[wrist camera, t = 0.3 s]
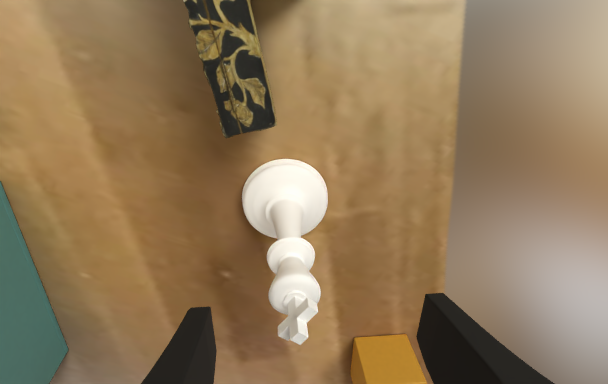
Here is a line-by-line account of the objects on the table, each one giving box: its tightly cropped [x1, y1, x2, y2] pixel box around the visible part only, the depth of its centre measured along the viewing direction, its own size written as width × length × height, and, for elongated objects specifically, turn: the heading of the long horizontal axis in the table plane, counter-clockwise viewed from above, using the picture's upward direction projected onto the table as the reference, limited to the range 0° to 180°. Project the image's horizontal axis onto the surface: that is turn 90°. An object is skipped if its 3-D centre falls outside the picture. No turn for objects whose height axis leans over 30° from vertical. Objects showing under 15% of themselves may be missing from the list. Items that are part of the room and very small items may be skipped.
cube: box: [350, 334, 427, 384], centre depth 26 cm, size 4×4×4 cm
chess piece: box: [242, 159, 328, 345], centre depth 17 cm, size 5×5×10 cm
